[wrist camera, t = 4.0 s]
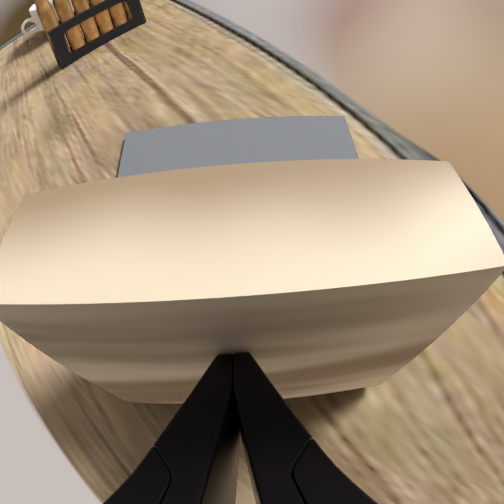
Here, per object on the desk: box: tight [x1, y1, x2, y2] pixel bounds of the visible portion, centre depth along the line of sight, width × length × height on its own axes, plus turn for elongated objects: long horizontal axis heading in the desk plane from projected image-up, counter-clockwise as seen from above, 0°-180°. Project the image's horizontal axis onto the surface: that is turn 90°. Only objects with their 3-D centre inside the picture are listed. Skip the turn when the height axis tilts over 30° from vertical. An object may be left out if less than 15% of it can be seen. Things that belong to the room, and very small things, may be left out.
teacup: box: [21, 0, 75, 35], centre depth 28 cm, size 10×8×5 cm
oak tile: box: [0, 159, 504, 404], centre depth 11 cm, size 4×12×10 cm, turn 94°
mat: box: [118, 116, 359, 177], centre depth 18 cm, size 13×15×1 cm
